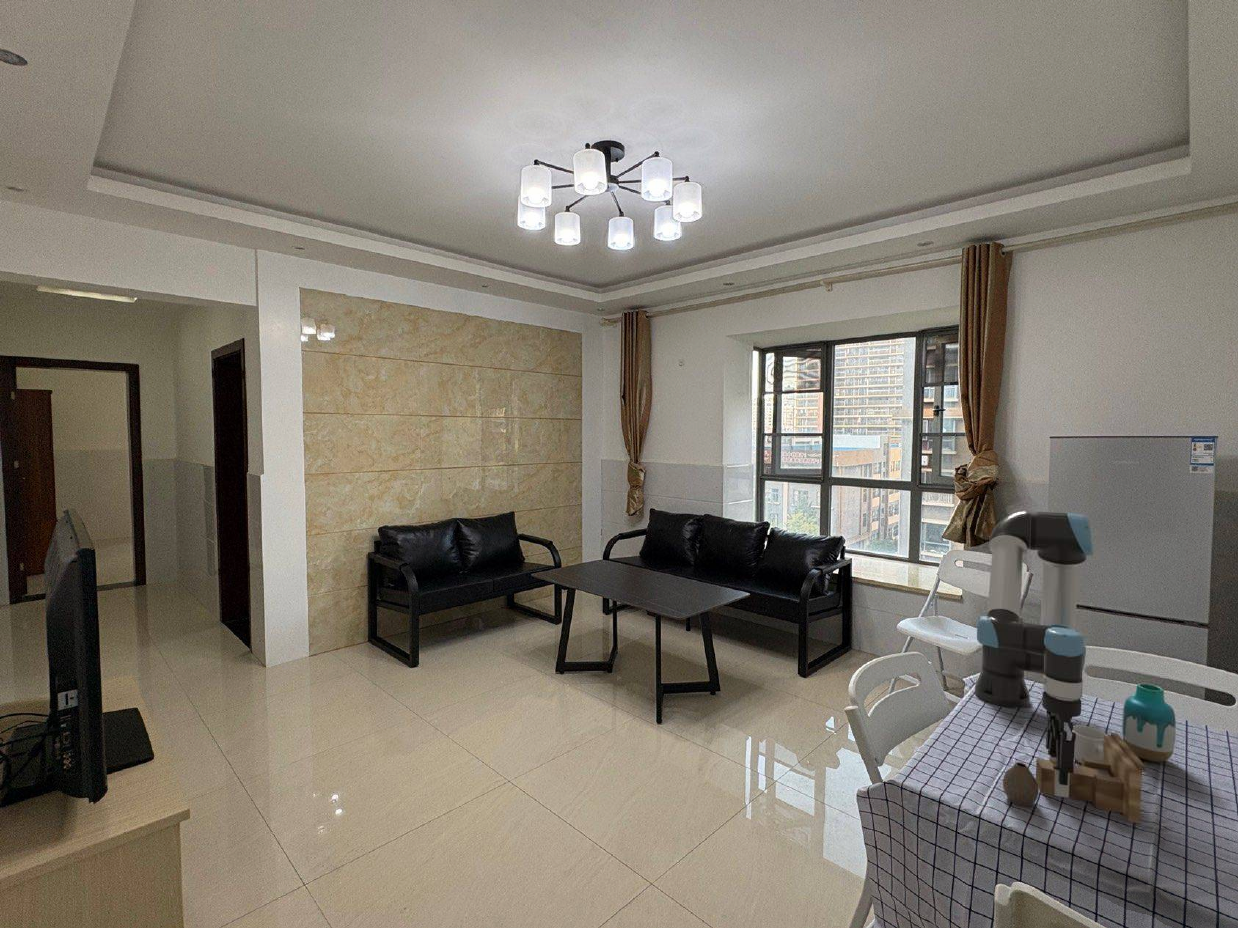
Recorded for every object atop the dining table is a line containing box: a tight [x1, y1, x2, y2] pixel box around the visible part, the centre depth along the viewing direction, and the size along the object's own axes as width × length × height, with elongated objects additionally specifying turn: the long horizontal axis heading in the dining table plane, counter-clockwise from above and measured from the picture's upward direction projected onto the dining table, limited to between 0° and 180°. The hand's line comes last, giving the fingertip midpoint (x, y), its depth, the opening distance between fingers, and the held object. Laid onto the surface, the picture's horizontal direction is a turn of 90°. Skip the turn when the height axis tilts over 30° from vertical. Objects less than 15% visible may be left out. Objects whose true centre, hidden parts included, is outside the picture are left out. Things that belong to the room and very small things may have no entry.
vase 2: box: [1121, 682, 1177, 763], centre depth 160 cm, size 11×11×19 cm
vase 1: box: [1002, 761, 1040, 807], centre depth 140 cm, size 7×7×9 cm
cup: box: [1072, 725, 1109, 764], centre depth 156 cm, size 11×8×8 cm
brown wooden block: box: [1035, 758, 1111, 803], centre depth 144 cm, size 14×5×6 cm, turn 68°
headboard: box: [1081, 731, 1147, 824], centre depth 141 cm, size 16×8×13 cm, turn 158°
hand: (1057, 789), depth 145 cm, fingers closed on brown wooden block, 5 cm apart
